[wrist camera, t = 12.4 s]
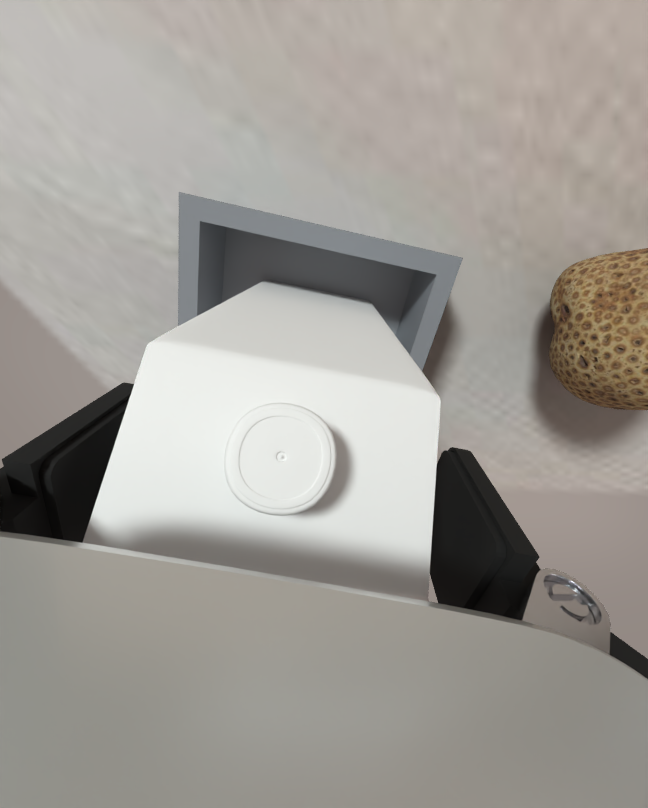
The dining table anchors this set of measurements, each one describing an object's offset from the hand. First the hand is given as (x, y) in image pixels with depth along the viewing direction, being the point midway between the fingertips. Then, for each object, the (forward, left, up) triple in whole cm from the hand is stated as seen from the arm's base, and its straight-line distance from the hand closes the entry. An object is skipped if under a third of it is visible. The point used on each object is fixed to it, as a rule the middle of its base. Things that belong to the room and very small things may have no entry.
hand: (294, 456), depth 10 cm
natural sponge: (-17, -5, -15) cm, 23 cm away
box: (+1, 0, -14) cm, 14 cm away
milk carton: (0, 0, -14) cm, 14 cm away
